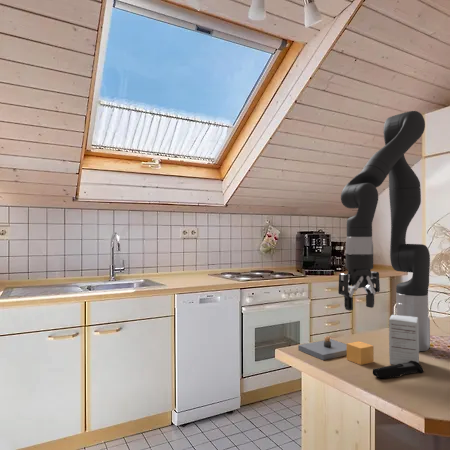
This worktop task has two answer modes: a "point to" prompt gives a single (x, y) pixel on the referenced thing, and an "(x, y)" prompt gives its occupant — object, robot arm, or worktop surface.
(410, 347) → the supplement box
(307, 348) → the plate
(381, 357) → the worktop surface
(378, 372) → the electric trimmer
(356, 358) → the orange rounded cube
